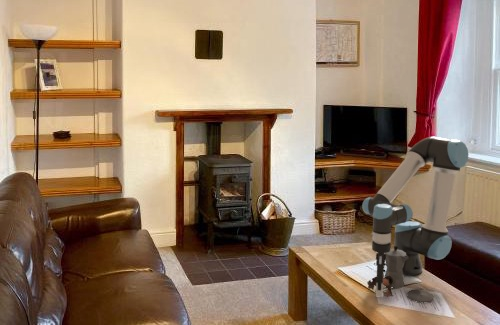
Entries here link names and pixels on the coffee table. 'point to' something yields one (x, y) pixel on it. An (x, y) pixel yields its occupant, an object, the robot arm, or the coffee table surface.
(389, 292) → the pottery mug
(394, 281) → the coffeepot
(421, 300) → the disc
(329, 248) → the coffee table surface
